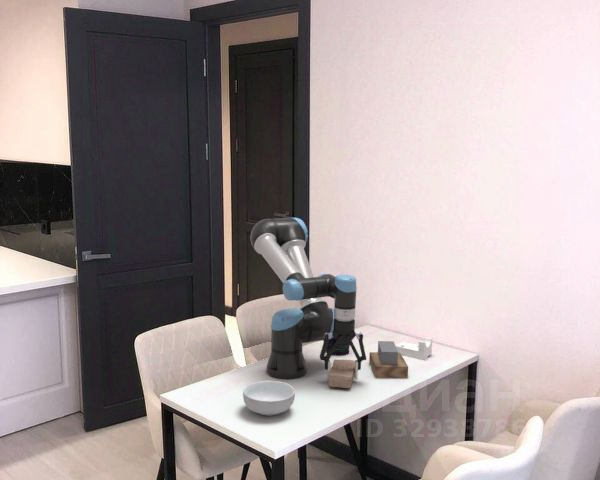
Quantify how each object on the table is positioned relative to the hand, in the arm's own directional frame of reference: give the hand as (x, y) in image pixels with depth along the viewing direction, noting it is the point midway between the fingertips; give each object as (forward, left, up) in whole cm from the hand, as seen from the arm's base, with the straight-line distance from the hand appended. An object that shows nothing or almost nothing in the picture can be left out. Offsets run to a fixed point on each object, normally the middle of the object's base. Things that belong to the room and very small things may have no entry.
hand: (342, 378), depth 238 cm
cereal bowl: (-27, -24, -2) cm, 36 cm away
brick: (0, 0, -1) cm, 1 cm away
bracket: (+33, +30, -2) cm, 45 cm away
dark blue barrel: (+2, +34, -2) cm, 34 cm away
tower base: (+19, +12, -2) cm, 22 cm away
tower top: (+19, +12, +3) cm, 22 cm away
